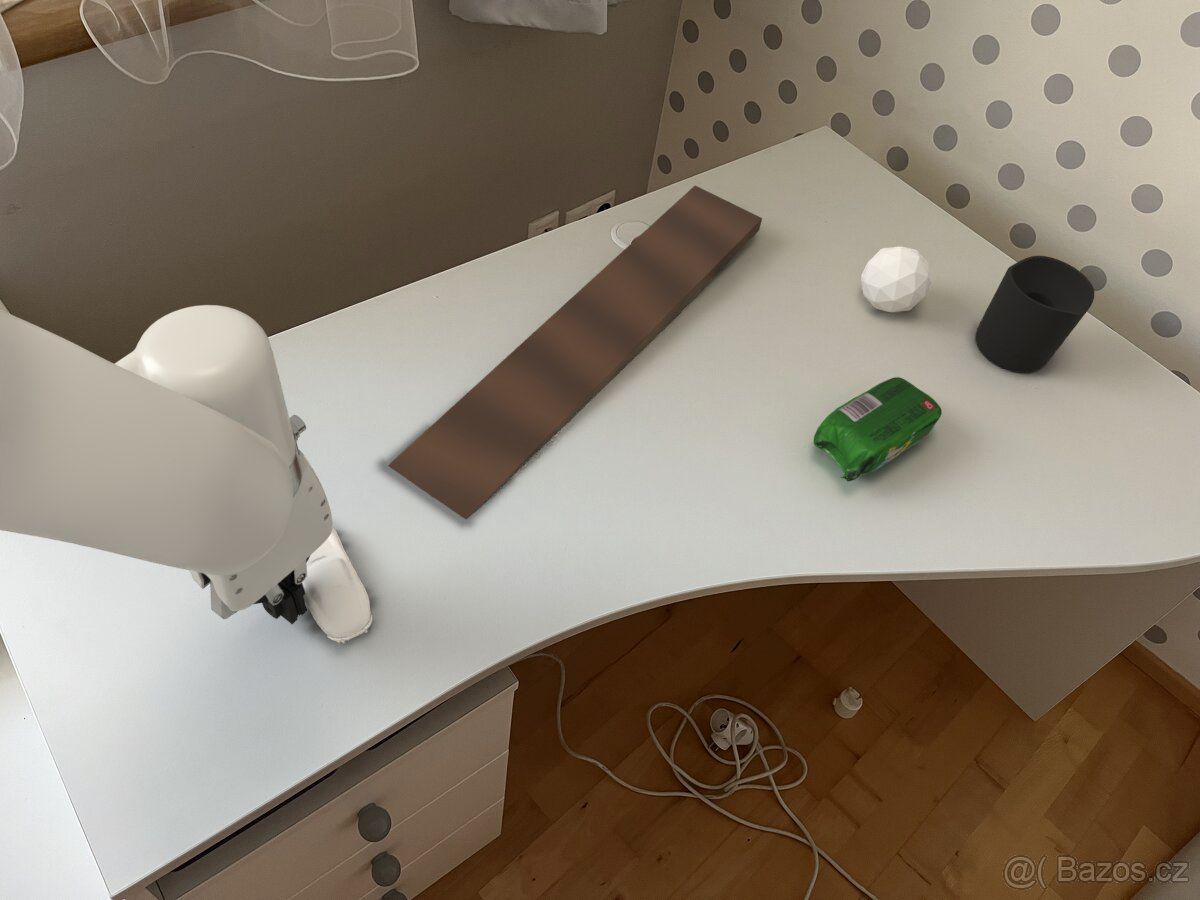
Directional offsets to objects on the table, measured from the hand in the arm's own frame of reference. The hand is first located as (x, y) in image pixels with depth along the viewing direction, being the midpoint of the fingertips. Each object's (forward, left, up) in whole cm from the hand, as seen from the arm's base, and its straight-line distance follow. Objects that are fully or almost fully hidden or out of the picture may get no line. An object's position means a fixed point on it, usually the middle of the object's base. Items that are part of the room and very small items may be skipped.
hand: (287, 608), depth 74 cm
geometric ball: (+73, -23, -2) cm, 76 cm away
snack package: (+51, -31, -2) cm, 59 cm away
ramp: (+45, 0, -3) cm, 45 cm away
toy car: (+4, 0, -2) cm, 4 cm away
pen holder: (+76, -38, -2) cm, 85 cm away
